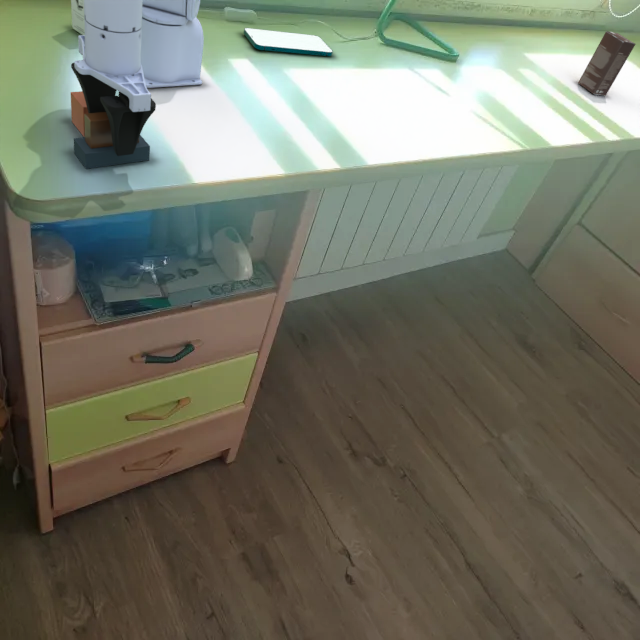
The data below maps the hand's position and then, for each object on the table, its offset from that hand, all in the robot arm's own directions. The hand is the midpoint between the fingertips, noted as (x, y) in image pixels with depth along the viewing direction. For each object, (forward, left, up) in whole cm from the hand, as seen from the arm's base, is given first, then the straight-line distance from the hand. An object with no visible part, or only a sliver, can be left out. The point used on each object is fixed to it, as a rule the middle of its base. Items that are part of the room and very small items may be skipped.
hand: (112, 139), depth 73 cm
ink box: (-14, -36, -3) cm, 39 cm away
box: (-116, -2, -3) cm, 116 cm away
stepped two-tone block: (0, 0, -2) cm, 2 cm away
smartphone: (-47, -29, -2) cm, 55 cm away
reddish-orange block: (0, -7, -2) cm, 7 cm away
